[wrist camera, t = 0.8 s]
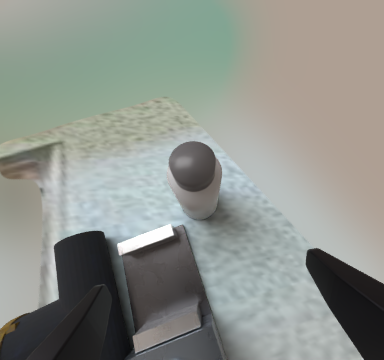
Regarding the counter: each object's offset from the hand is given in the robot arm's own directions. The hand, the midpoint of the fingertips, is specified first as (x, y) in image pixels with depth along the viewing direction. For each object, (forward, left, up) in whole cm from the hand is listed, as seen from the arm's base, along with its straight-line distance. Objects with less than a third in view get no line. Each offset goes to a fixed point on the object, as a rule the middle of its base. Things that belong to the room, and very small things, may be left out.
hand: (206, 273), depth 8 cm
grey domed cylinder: (+7, -2, -14) cm, 16 cm away
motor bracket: (-2, +5, -14) cm, 15 cm away
